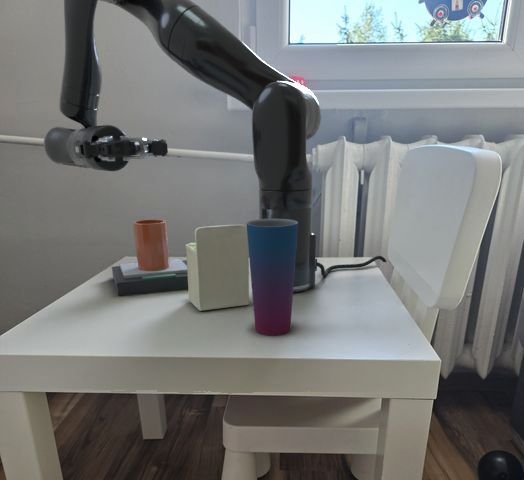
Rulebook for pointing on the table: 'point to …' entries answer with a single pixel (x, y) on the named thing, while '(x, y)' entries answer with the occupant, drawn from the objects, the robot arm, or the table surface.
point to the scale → (150, 278)
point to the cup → (272, 272)
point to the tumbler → (151, 244)
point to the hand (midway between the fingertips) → (140, 148)
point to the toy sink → (218, 267)
